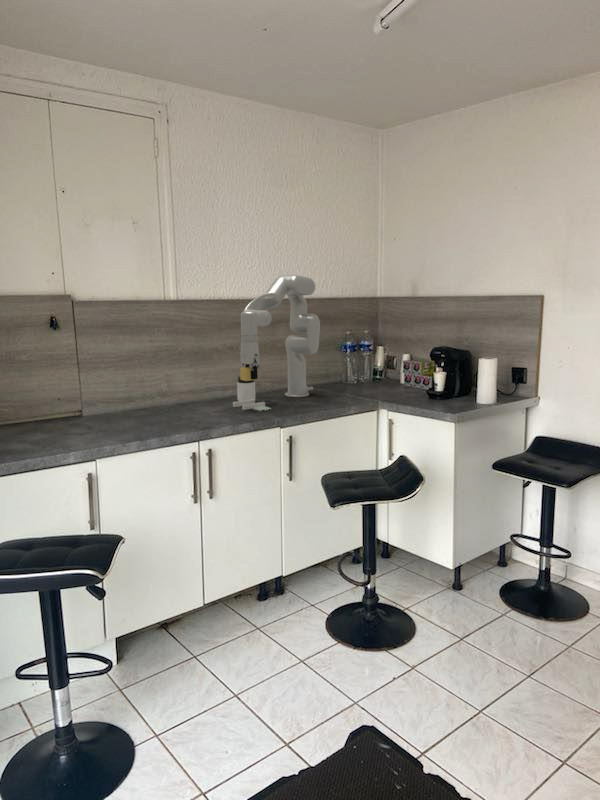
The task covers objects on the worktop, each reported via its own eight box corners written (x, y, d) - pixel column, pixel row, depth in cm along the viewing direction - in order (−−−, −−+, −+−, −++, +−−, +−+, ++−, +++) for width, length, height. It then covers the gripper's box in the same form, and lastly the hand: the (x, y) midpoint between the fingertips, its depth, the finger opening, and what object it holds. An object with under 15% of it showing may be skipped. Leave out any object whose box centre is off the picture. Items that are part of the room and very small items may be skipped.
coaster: (263, 407, 272) (263, 405, 272) (271, 409, 267) (271, 408, 267) (251, 408, 268) (251, 407, 268) (259, 411, 263) (259, 409, 263)
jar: (237, 402, 284) (237, 378, 282) (237, 399, 292) (236, 376, 289) (255, 401, 285) (255, 377, 283) (255, 398, 293) (254, 375, 291)
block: (249, 378, 267) (249, 366, 266) (255, 379, 263) (255, 368, 262) (240, 379, 264) (240, 367, 263) (246, 381, 260) (245, 369, 259)
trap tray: (267, 402, 284) (267, 399, 284) (276, 404, 278) (276, 402, 278) (255, 403, 280) (255, 401, 279) (264, 406, 274) (264, 403, 274)
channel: (254, 403, 280) (254, 399, 280) (265, 406, 273) (264, 402, 272) (232, 406, 273) (232, 402, 273) (243, 410, 266) (243, 405, 265)
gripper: (233, 338, 265) (234, 376, 269) (252, 340, 252) (253, 381, 256) (247, 336, 270) (248, 375, 273) (266, 339, 256) (267, 379, 260)
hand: (251, 377), depth 264 cm, fingers closed on block, 5 cm apart
